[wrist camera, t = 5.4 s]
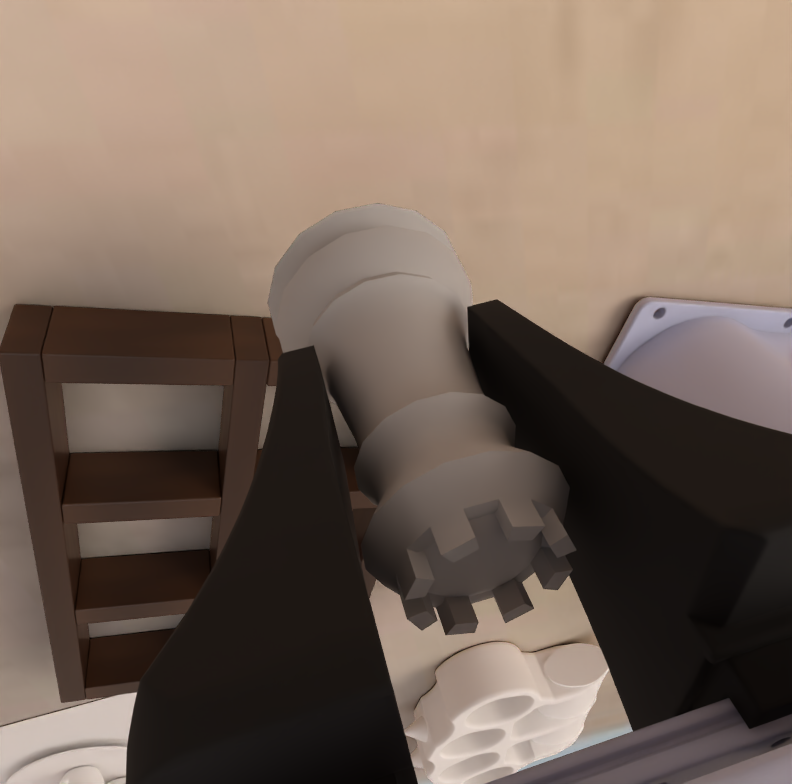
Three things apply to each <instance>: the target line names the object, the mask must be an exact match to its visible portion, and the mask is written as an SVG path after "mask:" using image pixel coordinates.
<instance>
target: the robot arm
mask: <svg viewBox="0 0 792 784" xmlns="http://www.w3.org/2000/svg"><path fill="white" fill-rule="evenodd" d="M656 310H657V311H656ZM655 311H656V312H655ZM654 312H655V313H654ZM467 315H468V344H469V354H470V357H471V360H472V363H473V366H474V369H475V371H476V374H477V377H478V380H479V383H480V386H481V389H482V392H483V393H484V395H485V396H487V397H488V398H490V399H492V400H494V401H496V402H498V403H500V404H501V405H503V406H505V407H506V409H507V411H508V413H509V414H510V416H511V418H512V420H513V421H514V423H515V425H516V429H515V444H514V447H515V448H518V449H522V450H525V451H529V452H532V453H534V454H536V455H538V456H540V457H542V458H544V459H546V460H548V461H550V462H552V463H554V464H556V465H558V466H559V468H560V470H561V472H562V474H563V475H564V477H565V479H566V481H567V483H568V485H569V487H570V490H569V496H568V502H567V508H566V514H565V518H564V522H563V527H564V529H565V531H566V532H567V534H568V536H569V538H570V539H571V541H572V543H573V545H574V546H575V548H576V551H574V552H571V553H569V554H566V555H565V556H566V558H567V560H568V562H569V564H570V565H571V567H572V569H573V570H572V572H571V573H570V574H569V576H570V578H571V580H572V583H573V585H574V587H575V589H576V592H577V594H578V596H579V598H580V601H581V603H582V605H583V608H584V610H585V612H586V614H587V617H588V619H589V622H590V624H591V626H592V629H593V631H594V634H595V636H596V638H597V641H598V643H599V646H600V648H601V651H602V653H603V655H604V658H605V660H606V663H607V665H608V668H609V670H610V673H611V675H612V678H613V680H614V683H615V686H616V688H617V691H618V693H619V696H620V698H621V701H622V704H623V706H624V709H625V711H626V714H627V716H628V719H629V722H630V724H631V727H632V730H633V732H630V733H627V734H624V735H622V736H619V737H616V738H613V739H610V740H607V741H604V742H602V743H599V744H596V745H593V746H590V747H587V748H585V749H582V750H579V751H576V752H573V753H570V754H567V755H565V756H562V757H559V758H556V759H553V760H550V761H547V762H545V763H542V764H539V765H536V766H533V767H530V768H527V769H525V770H522V771H519V772H516V773H513V774H510V775H507V776H505V777H502V778H499V779H496V780H493V781H490V782H488V783H485V784H792V309H791V308H779V307H767V306H755V305H742V304H730V303H718V302H706V301H694V300H682V299H670V298H658V297H646V298H643V299H641V300H640V301H638V302H637V303H636V305H635V306H634V308H633V310H632V311H631V313H630V315H629V317H628V319H627V321H626V323H625V325H624V326H623V328H622V330H621V332H620V334H619V336H618V338H617V340H616V341H615V343H614V345H613V347H612V349H611V351H610V353H609V355H608V356H607V358H606V360H605V362H604V364H602V363H600V362H598V361H596V360H595V359H593V358H591V357H589V356H588V355H586V354H584V353H582V352H580V351H579V350H577V349H575V348H573V347H572V346H570V345H568V344H567V343H565V342H563V341H562V340H560V339H558V338H557V337H555V336H554V335H552V334H550V333H549V332H547V331H546V330H544V329H542V328H541V327H539V326H538V325H536V324H535V323H533V322H531V321H530V320H528V319H527V318H525V317H524V316H522V315H521V314H519V313H518V312H516V311H514V310H513V309H511V308H510V307H508V306H507V305H505V304H504V303H502V302H500V301H499V300H493V301H489V302H485V303H481V304H477V305H473V306H469V307H467ZM126 784H418V782H417V778H416V775H415V771H414V767H413V763H412V759H411V756H410V752H409V748H408V744H407V740H406V737H405V733H404V729H403V725H402V721H401V718H400V714H399V710H398V706H397V702H396V699H395V695H394V691H393V687H392V683H391V680H390V676H389V672H388V668H387V664H386V661H385V657H384V653H383V649H382V645H381V642H380V638H379V634H378V630H377V626H376V623H375V619H374V615H373V611H372V607H371V603H370V600H369V596H368V592H367V588H366V584H365V580H364V575H363V570H362V565H361V560H360V553H359V547H358V541H357V535H356V529H355V523H354V517H353V511H352V505H351V499H350V493H349V487H348V481H347V475H346V469H345V464H344V460H343V456H342V452H341V448H340V444H339V440H338V436H337V432H336V428H335V424H334V419H333V415H332V411H331V407H330V403H329V399H328V395H327V391H326V387H325V383H324V379H323V375H322V371H321V367H320V364H319V360H318V357H317V354H316V351H315V347H314V345H313V346H309V347H305V348H301V349H297V350H293V351H289V352H285V353H282V354H281V355H280V357H279V358H278V376H277V386H276V393H275V399H274V405H273V409H272V414H271V418H270V423H269V427H268V432H267V436H266V439H265V443H264V446H263V449H262V453H261V456H260V459H259V462H258V466H257V469H256V472H255V475H254V478H253V481H252V483H251V486H250V489H249V491H248V494H247V497H246V499H245V501H244V504H243V506H242V509H241V511H240V513H239V516H238V518H237V520H236V522H235V524H234V526H233V529H232V531H231V533H230V535H229V537H228V539H227V541H226V543H225V545H224V548H223V549H222V551H221V553H220V555H219V557H218V559H217V561H216V563H215V565H214V567H213V568H212V570H211V572H210V574H209V575H208V577H207V579H206V580H205V582H204V584H203V585H202V587H201V589H200V590H199V592H198V594H197V596H196V597H195V599H194V601H193V602H192V604H191V606H190V607H189V609H188V611H187V612H186V614H185V616H184V617H183V619H182V620H181V622H180V623H179V625H178V626H177V628H176V629H175V631H174V632H173V633H172V635H171V636H170V638H169V639H168V641H167V642H166V644H165V645H164V646H163V648H162V649H161V651H160V652H159V654H158V655H157V656H156V658H155V659H154V661H153V662H152V664H151V665H150V667H149V668H148V669H147V671H146V672H145V674H144V675H143V676H142V678H141V679H140V682H139V686H138V690H137V695H136V699H135V703H134V708H133V713H132V719H131V725H130V730H129V736H128V744H127V757H126Z"/></svg>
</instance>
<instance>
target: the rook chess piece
mask: <svg viewBox="0 0 792 784" xmlns="http://www.w3.org/2000/svg"><path fill="white" fill-rule="evenodd" d="M268 306H269V310H270V314H271V317H272V321H273V325H274V329H275V333H276V335H277V337H278V338H279V339H280V343H281V347H282V351H283V353H285V352H289V351H293V350H297V349H301V348H305V347H309V346H313V345H314V347H315V351H316V354H317V357H318V360H319V364H320V367H321V371H322V375H323V379H324V383H325V387H326V391H327V395H328V399H329V402H332V403H334V404H336V405H337V406H338V407H339V409H340V411H341V413H342V415H343V417H344V419H345V421H346V423H347V425H348V427H349V428H350V430H351V432H352V434H353V436H354V438H355V440H356V442H357V445H358V448H359V454H358V457H357V460H356V463H355V465H354V470H355V475H356V481H357V486H358V489H359V490H360V491H361V492H362V493H363V494H364V495H365V496H366V497H367V498H368V499H369V500H370V501H371V502H372V503H373V504H374V505H376V506H378V507H377V509H376V510H375V512H374V514H373V517H372V519H371V521H370V524H369V526H368V529H367V531H366V533H365V536H364V538H363V541H362V543H361V550H362V554H363V559H364V564H365V569H366V570H367V571H368V572H369V573H370V574H371V575H372V576H374V577H375V578H376V579H377V580H378V581H380V582H381V583H382V584H383V585H384V586H386V587H387V588H389V589H391V590H392V591H394V592H396V593H398V594H399V595H400V597H401V600H402V604H403V607H404V610H405V614H406V617H407V619H408V620H409V621H411V622H412V623H413V624H414V625H415V626H417V627H418V628H419V629H420V630H424V629H425V628H427V627H428V626H430V625H431V624H433V623H434V622H436V621H437V617H436V614H435V612H434V609H433V607H435V608H436V609H437V611H438V614H439V617H440V620H441V623H442V626H443V629H444V632H445V635H454V634H464V633H475V631H476V628H477V625H478V620H477V617H476V615H475V612H474V610H473V607H472V605H471V604H472V603H475V602H479V601H482V600H485V599H489V598H492V597H494V598H495V600H496V602H497V605H498V607H499V609H500V612H501V614H502V616H503V619H504V621H505V623H507V622H509V621H511V620H513V619H515V618H517V617H519V616H521V615H523V614H524V613H526V612H528V611H530V610H532V609H534V607H533V605H532V603H531V601H530V599H529V597H528V594H527V592H526V590H525V588H524V586H523V584H522V582H523V581H524V580H526V579H527V578H528V577H529V576H530V575H532V574H533V573H534V572H535V573H536V575H537V577H538V579H539V581H540V583H541V585H542V587H543V589H551V590H558V589H559V588H560V586H561V585H562V584H563V582H564V581H565V580H566V578H567V577H568V576H569V574H570V573H571V572H572V570H573V569H572V567H571V565H570V564H569V562H568V560H567V558H566V556H565V555H566V554H569V553H571V552H574V551H576V548H575V546H574V545H573V543H572V541H571V539H570V538H569V536H568V534H567V532H566V531H565V529H564V527H563V522H564V518H565V514H566V508H567V502H568V496H569V490H570V487H569V485H568V483H567V481H566V479H565V477H564V475H563V474H562V472H561V470H560V468H559V466H558V465H556V464H554V463H552V462H550V461H548V460H546V459H544V458H542V457H540V456H538V455H536V454H534V453H532V452H529V451H525V450H522V449H518V448H515V447H514V444H515V429H516V425H515V423H514V421H513V420H512V418H511V416H510V414H509V413H508V411H507V409H506V407H505V406H503V405H501V404H500V403H498V402H496V401H494V400H492V399H490V398H488V397H487V396H485V395H484V393H483V392H482V389H481V386H480V383H479V380H478V377H477V374H476V371H475V369H474V366H473V363H472V360H471V357H470V354H469V351H468V348H469V344H468V315H467V307H469V306H473V293H472V286H471V281H470V279H469V278H468V276H467V274H466V272H465V270H464V268H463V266H462V264H461V262H460V260H459V258H458V256H457V254H456V252H455V250H454V248H453V246H452V244H451V242H450V240H449V238H448V236H447V234H446V232H445V231H444V230H442V229H441V228H439V227H438V226H437V225H435V224H434V223H432V222H431V221H430V220H428V219H427V218H426V217H424V216H423V215H421V214H420V213H419V212H417V211H415V210H410V209H405V208H400V207H395V206H390V205H385V204H380V203H375V204H370V205H365V206H360V207H355V208H349V209H344V210H339V211H335V212H333V213H332V214H330V215H329V216H327V217H325V218H324V219H322V220H321V221H319V222H317V223H316V224H314V225H313V226H311V227H310V228H308V229H306V230H305V231H303V232H302V233H300V234H299V235H298V236H297V237H296V239H295V240H294V242H293V243H292V244H291V246H290V247H289V249H288V250H287V251H286V253H285V254H284V255H283V257H282V258H281V260H280V261H279V262H278V264H277V265H276V266H275V270H274V275H273V280H272V284H271V289H270V294H269V299H268Z"/></svg>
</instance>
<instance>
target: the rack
mask: <svg viewBox="0 0 792 784" xmlns="http://www.w3.org/2000/svg"><path fill="white" fill-rule="evenodd" d="M282 353H283V351H282V347H281V343H280V339H279V338H278V337H277V335H276V333H275V329H274V325H273V321H272V318H262V319H261V318H260V317H247V316H231V317H230V316H229V315H212V314H194V313H175V312H156V311H138V310H119V309H101V308H82V307H64V306H54V307H52V306H40V305H22V304H16V305H14V308H13V311H12V313H11V316H10V319H9V322H8V325H7V328H6V331H5V334H4V337H3V340H2V343H1V346H0V367H1V373H2V378H3V384H4V389H5V395H6V400H7V406H8V411H9V417H10V423H11V428H12V434H13V439H14V445H15V450H16V456H17V461H18V467H19V472H20V478H21V483H22V489H23V495H24V500H25V506H26V511H27V517H28V522H29V528H30V533H31V539H32V544H33V550H34V555H35V561H36V567H37V572H38V578H39V583H40V589H41V594H42V600H43V605H44V611H45V616H46V622H47V627H48V633H49V639H50V644H51V650H52V655H53V661H54V666H55V672H56V677H57V683H58V688H59V694H60V699H61V703H65V702H72V701H79V700H85V699H94V698H101V697H108V696H115V695H122V694H129V693H136V692H137V690H138V686H139V682H140V679H141V678H142V676H143V675H144V674H145V672H146V671H147V669H148V668H149V667H150V665H151V664H152V662H153V661H154V659H155V658H156V656H157V655H158V654H159V652H160V651H161V649H162V648H163V646H164V645H165V644H166V642H167V641H168V639H169V638H170V636H171V635H172V633H173V632H174V631H175V629H171V630H162V631H153V632H144V633H135V634H127V635H118V636H109V637H100V638H91V639H90V638H89V628H88V624H89V623H99V622H109V621H118V620H128V619H137V618H147V617H156V616H166V615H176V614H185V613H186V612H187V611H188V609H189V607H190V606H191V604H192V602H193V601H194V599H195V597H196V596H197V594H198V592H199V590H200V589H201V587H202V585H203V584H204V582H205V580H206V579H207V577H208V575H209V574H210V572H211V570H212V568H213V567H214V565H215V563H216V561H217V559H218V557H219V555H220V553H221V551H222V549H223V548H224V545H225V543H226V541H227V539H228V537H229V535H230V533H231V531H232V529H233V526H234V524H235V522H236V520H237V518H238V516H239V513H240V511H241V509H242V506H243V504H244V501H245V499H246V497H247V494H248V491H249V489H250V486H251V483H252V481H253V478H254V475H255V472H256V469H257V466H258V462H259V459H260V456H261V453H262V449H261V450H257V449H258V442H259V434H260V427H261V420H262V413H263V406H264V398H265V391H266V384H267V385H268V386H277V376H278V358H279V357H280V355H281V354H282ZM62 383H102V384H164V385H224V392H223V403H222V415H221V426H220V438H219V449H218V451H166V452H113V453H71V454H70V456H69V447H68V438H67V429H66V420H65V411H64V401H63V392H62ZM341 452H342V456H343V460H344V464H345V469H346V475H347V481H348V487H349V493H350V499H351V505H352V509H353V517H354V523H355V529H356V535H357V541H358V547H359V553H360V560H361V565H362V570H363V575H364V580H365V584H366V588H367V592H368V596H369V598H370V595H371V592H372V590H373V587H374V584H375V581H376V578H375V577H374V576H372V575H371V574H370V573H369V572H368V571H367V570H366V569H365V564H364V559H363V554H362V550H361V543H362V541H363V538H364V536H365V533H366V531H367V529H368V526H369V524H370V521H371V519H372V517H373V514H374V512H375V510H376V509H377V507H378V506H376V505H374V504H373V503H372V502H371V501H370V500H369V499H368V498H367V497H366V496H365V495H364V494H363V493H362V492H361V491H360V490H359V489H358V486H357V481H356V475H355V470H354V465H355V463H356V460H357V457H358V454H359V448H341ZM207 516H213V518H212V530H211V541H210V551H209V550H199V551H185V552H171V553H157V554H143V555H129V556H115V557H101V558H87V559H82V560H81V556H80V547H79V538H78V529H77V523H96V522H114V521H133V520H152V519H170V518H189V517H207Z"/></svg>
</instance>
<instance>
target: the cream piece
mask: <svg viewBox="0 0 792 784" xmlns="http://www.w3.org/2000/svg"><path fill="white" fill-rule="evenodd" d="M126 757H127V746H120V745H98V746H87V747H80V748H74V749H69V750H65V751H61V752H57V753H54V754H50V755H47V756H44V757H42V758H39V759H37V760H34V761H32V762H30V763H28V764H26V765H24V766H23V767H21V768H19V769H18V770H17V771H15V772H14V773H13V774H12V775H11V776H10V777H9V778H8V779H7V780H6V781H5V783H4V784H126Z"/></svg>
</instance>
